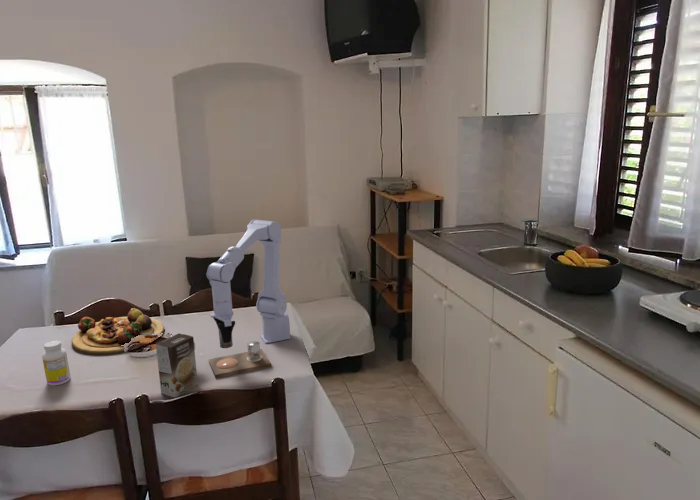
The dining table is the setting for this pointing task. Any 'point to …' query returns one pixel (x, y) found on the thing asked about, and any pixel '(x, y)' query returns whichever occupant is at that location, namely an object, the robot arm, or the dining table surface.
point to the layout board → (240, 361)
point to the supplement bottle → (55, 363)
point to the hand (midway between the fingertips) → (225, 339)
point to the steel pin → (222, 344)
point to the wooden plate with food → (113, 332)
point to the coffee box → (176, 364)
